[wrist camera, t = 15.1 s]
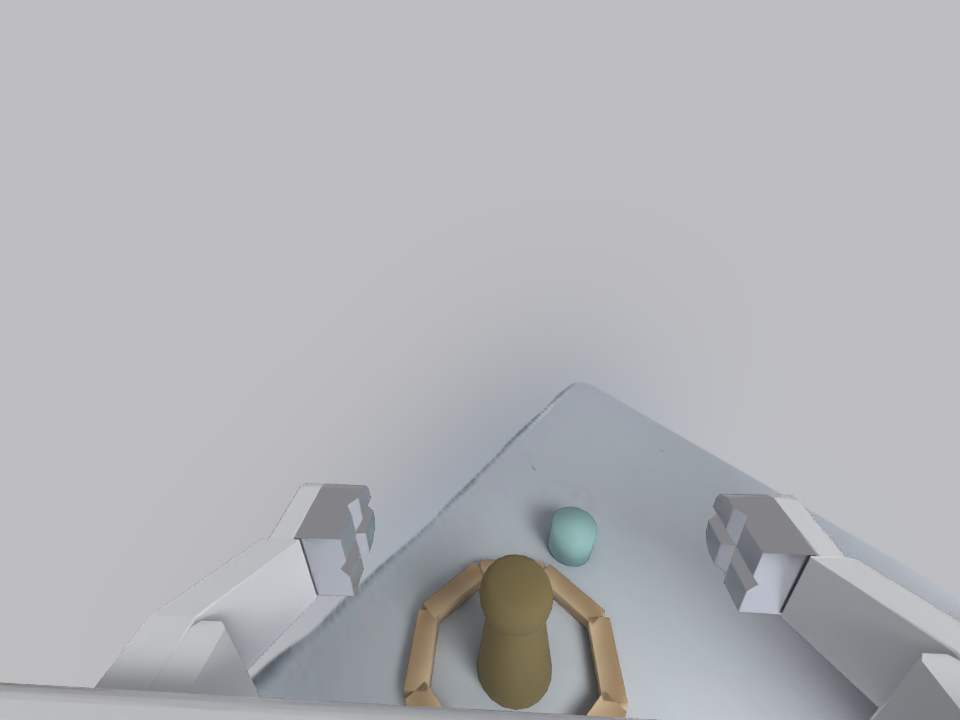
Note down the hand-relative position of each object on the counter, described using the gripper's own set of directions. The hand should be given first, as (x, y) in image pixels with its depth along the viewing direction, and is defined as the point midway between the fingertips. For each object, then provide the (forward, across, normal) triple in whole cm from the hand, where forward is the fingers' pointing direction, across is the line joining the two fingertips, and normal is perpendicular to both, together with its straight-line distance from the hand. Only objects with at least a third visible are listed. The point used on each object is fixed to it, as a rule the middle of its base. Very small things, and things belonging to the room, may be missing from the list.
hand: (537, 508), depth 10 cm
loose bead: (+23, -6, +30) cm, 38 cm away
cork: (+12, 0, +30) cm, 32 cm away
